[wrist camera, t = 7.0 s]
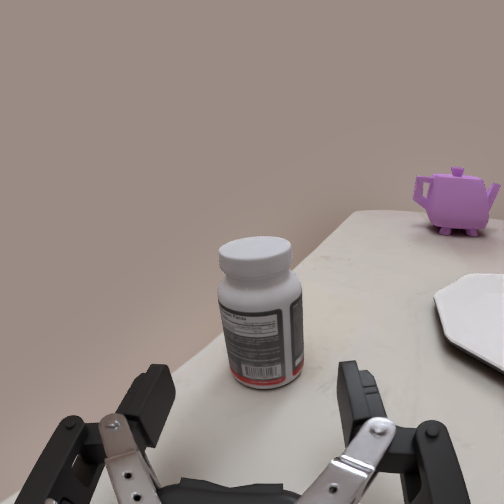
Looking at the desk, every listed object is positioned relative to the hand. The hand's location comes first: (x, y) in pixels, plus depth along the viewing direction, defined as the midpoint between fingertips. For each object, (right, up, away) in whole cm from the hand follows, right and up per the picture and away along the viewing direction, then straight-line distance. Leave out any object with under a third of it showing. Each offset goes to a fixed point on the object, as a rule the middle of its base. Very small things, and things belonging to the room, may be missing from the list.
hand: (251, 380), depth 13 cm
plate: (+26, -2, +7) cm, 27 cm away
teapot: (+42, +10, +39) cm, 58 cm away
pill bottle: (+1, -3, +10) cm, 10 cm away
